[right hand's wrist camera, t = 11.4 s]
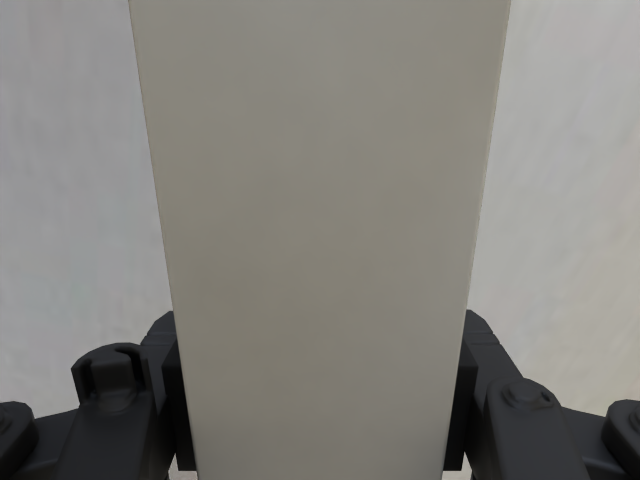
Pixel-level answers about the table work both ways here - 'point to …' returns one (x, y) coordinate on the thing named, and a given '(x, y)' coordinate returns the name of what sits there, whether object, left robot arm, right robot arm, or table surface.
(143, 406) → the right robot arm
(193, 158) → the bar
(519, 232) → the table surface
